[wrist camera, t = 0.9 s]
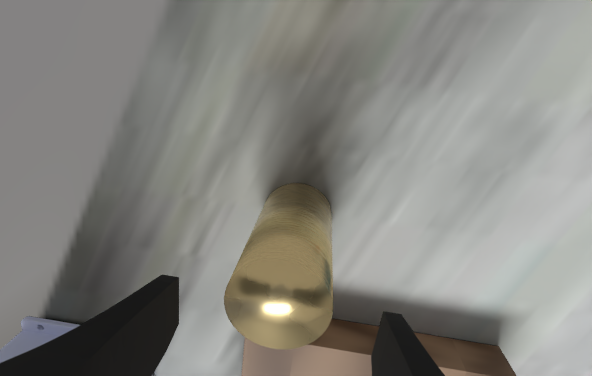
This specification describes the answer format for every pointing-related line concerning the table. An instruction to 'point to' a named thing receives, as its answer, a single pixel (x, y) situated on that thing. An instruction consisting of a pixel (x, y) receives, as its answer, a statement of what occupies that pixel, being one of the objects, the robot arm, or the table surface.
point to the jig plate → (368, 355)
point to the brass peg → (285, 271)
